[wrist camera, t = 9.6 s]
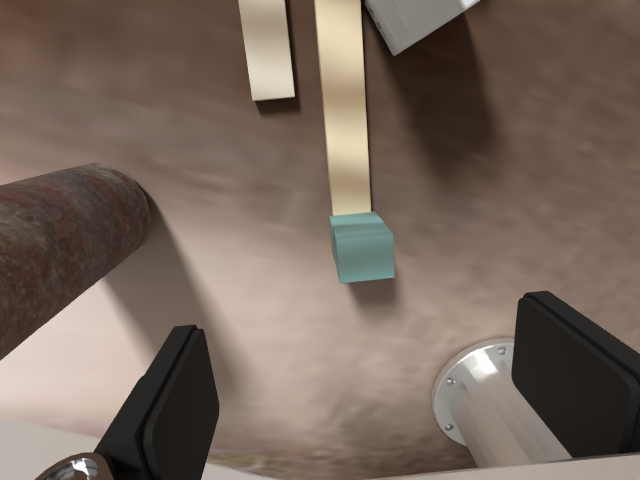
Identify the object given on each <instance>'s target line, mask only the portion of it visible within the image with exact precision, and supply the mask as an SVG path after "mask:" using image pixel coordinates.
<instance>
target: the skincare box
mask: <svg viewBox="0 0 640 480" xmlns="http://www.w3.org/2000/svg"><path fill="white" fill-rule="evenodd" d="M479 1H480V0H365V2H364V4H365V6H366V8H367V9H368V11H369V13H370V15H371V17H372V19H373V20H374V22H375V24H376V26H377V28H378V29H379V31H380V33H381V35H382V36H383V38H384V40H385V42H386V44H387V45H388V47H389V49H390V51H391V53H392V55H393V56H396V55H397V54H399V53H400V52H402V51H403V50H405V49H406V48H408V47H410V46H411V45H413V44H414V43H416V42H417V41H419V40H421V39H422V38H424V37H425V36H427V35H428V34H430V33H431V32H433V31H434V30H436V29H438V28H439V27H441V26H442V25H444V24H445V23H447V22H448V21H450V20H452V19H453V18H455V17H456V16H458V15H459V14H461V13H462V12H464V11H465V10H467V9H468V8H470V7H471V6H473V5H474V4H476V3H477V2H479Z"/></svg>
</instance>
